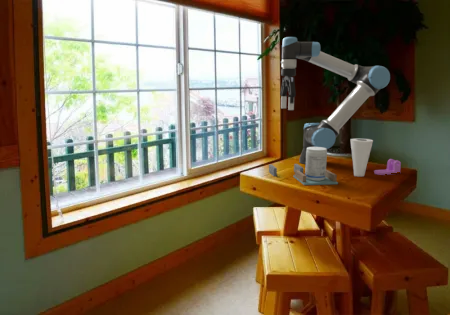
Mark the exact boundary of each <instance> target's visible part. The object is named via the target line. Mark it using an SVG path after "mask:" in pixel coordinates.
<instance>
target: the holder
mask: <svg viewBox="0 0 450 315" xmlns="http://www.w3.org/2000/svg"><path fill="white" fill-rule="evenodd" d="M295 170H299V171H300V172H301V173H303V174H304V167H303V166H301V165H300V164H298V163H294V164H293V172H294V173H295ZM277 172H278V168H277V167H276V166H275V165H273V164H271V163H270V164H268V173H269V174H270V175H272V176H273V177H278V175H277V174H278V173H277Z"/></svg>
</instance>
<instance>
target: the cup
mask: <svg viewBox="0 0 450 315" xmlns="http://www.w3.org/2000/svg"><path fill="white" fill-rule="evenodd" d="M373 142H374V140H373V139H371V138H350V148H351V158H352V169H353V176H354V177H358V178H359V177H365V174H366V170H367V167H368V166H367V164H368V162H369V158H370V153H371V151H372V146H373Z"/></svg>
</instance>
